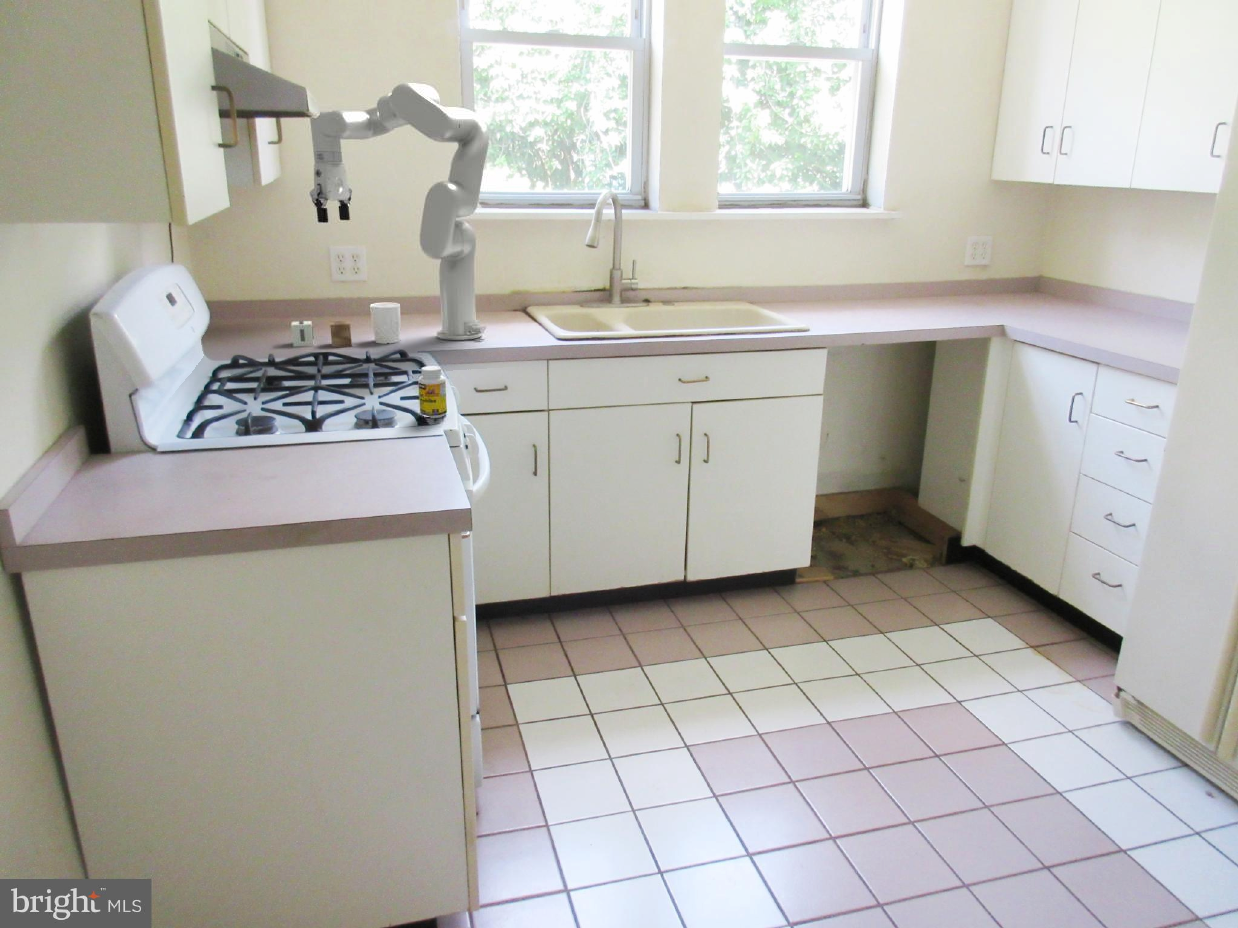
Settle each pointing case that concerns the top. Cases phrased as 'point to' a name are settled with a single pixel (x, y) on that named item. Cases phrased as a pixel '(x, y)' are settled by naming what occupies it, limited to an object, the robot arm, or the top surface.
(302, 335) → the marked block
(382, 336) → the white cup
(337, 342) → the walnut block
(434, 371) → the supplement bottle
